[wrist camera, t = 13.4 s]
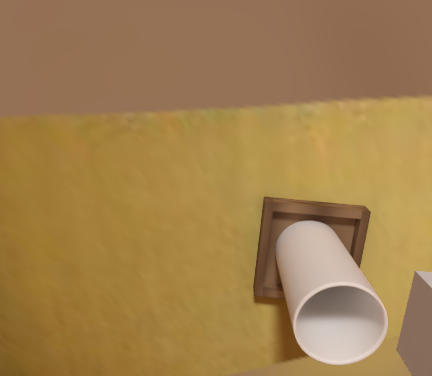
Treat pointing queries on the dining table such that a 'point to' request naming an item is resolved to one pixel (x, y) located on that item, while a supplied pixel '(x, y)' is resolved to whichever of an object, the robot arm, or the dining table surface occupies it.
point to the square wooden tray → (299, 211)
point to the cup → (328, 296)
